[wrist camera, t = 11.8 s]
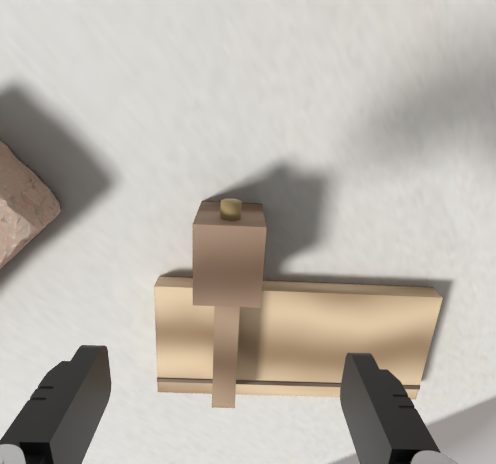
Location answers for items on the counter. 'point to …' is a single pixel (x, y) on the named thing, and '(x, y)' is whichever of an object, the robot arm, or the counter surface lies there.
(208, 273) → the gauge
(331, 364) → the board
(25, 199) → the brick
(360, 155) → the counter surface
